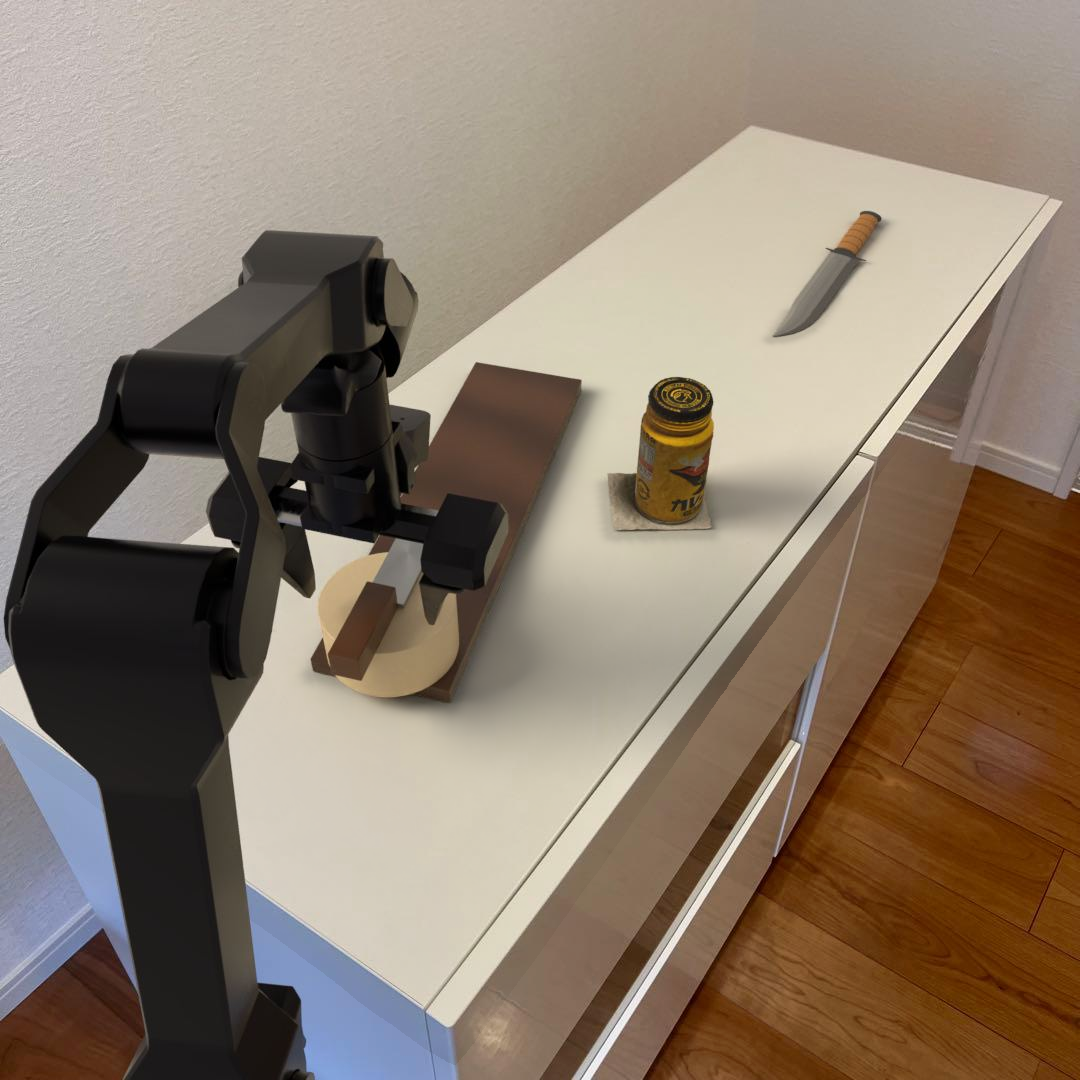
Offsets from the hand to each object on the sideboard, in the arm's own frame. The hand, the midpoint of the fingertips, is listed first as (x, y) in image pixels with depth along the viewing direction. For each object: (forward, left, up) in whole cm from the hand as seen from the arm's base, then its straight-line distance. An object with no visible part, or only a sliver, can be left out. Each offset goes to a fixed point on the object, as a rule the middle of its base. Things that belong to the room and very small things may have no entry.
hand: (371, 606), depth 75 cm
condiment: (+25, -16, -9) cm, 31 cm away
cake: (+2, 0, -7) cm, 7 cm away
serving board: (+19, 0, -8) cm, 21 cm away
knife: (+69, -28, -9) cm, 75 cm away
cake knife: (+2, 0, -2) cm, 3 cm away
